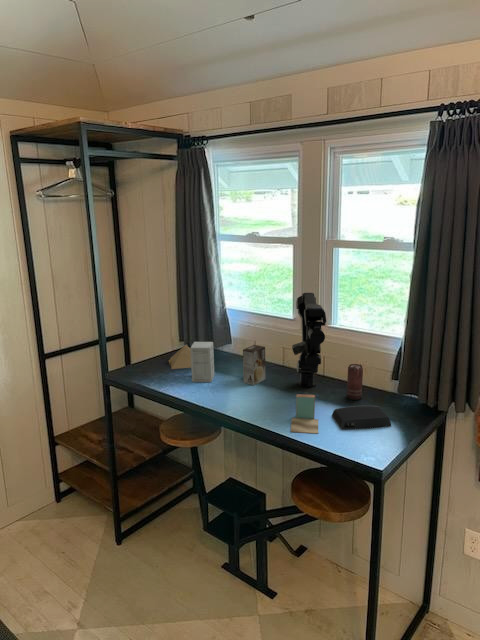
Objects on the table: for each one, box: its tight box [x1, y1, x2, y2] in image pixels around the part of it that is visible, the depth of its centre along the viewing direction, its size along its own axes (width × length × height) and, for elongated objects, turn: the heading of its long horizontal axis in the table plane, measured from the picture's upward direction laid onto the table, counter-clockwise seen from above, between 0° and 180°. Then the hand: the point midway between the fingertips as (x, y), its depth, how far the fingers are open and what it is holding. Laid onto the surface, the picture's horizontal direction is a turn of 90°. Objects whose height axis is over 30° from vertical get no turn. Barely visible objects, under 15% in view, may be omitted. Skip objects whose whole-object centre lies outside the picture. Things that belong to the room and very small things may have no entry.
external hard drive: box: [331, 405, 392, 431], centre depth 187 cm, size 13×19×4 cm
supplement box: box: [189, 341, 215, 383], centre depth 229 cm, size 10×9×17 cm
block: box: [295, 393, 316, 419], centre depth 189 cm, size 2×7×9 cm, turn 82°
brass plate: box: [290, 417, 319, 434], centre depth 184 cm, size 11×10×1 cm
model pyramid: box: [168, 344, 191, 370], centre depth 252 cm, size 17×17×10 cm
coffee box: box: [242, 344, 266, 386], centre depth 225 cm, size 9×6×16 cm
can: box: [346, 363, 364, 401], centre depth 206 cm, size 6×6×14 cm
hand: (312, 373), depth 203 cm, fingers closed
